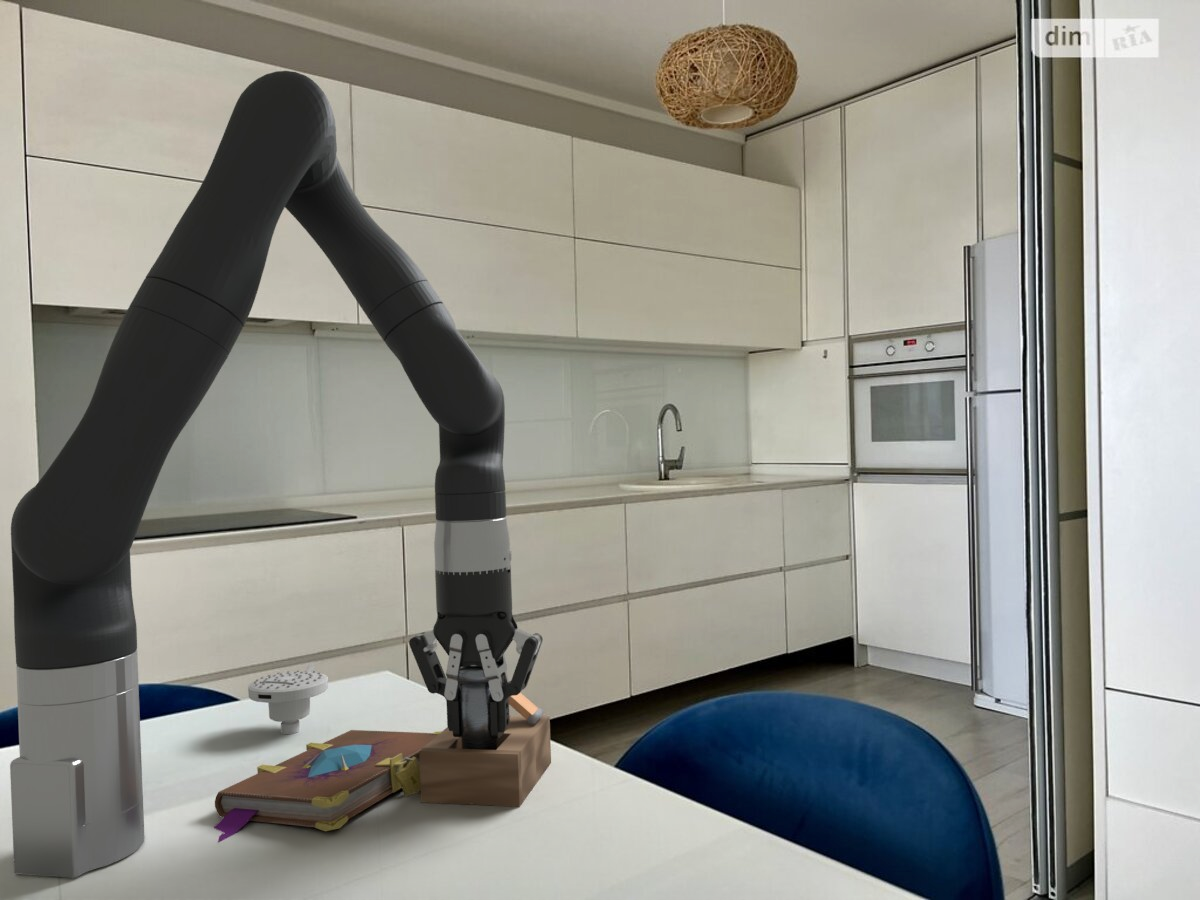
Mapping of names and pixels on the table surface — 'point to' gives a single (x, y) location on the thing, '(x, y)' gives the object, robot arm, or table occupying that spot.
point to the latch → (525, 708)
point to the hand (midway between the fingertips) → (479, 734)
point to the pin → (475, 709)
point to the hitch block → (486, 766)
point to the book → (326, 781)
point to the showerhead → (288, 695)
